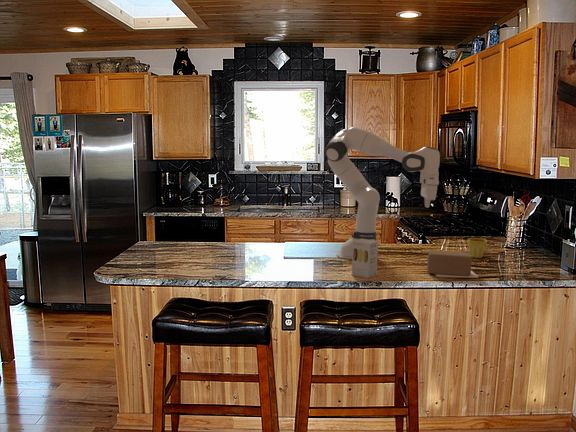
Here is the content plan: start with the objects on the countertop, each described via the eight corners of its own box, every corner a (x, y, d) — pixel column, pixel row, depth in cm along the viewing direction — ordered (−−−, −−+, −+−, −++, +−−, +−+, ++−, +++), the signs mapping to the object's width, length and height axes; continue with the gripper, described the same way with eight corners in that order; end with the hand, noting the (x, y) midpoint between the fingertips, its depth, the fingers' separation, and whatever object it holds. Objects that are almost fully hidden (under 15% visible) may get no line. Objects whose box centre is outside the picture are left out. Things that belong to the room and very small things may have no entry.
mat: (436, 276, 275) (436, 275, 275) (429, 268, 291) (429, 267, 291) (478, 277, 275) (478, 276, 275) (469, 269, 290) (469, 268, 290)
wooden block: (427, 274, 277) (470, 276, 274) (429, 253, 276) (472, 256, 272) (427, 269, 287) (468, 272, 283) (428, 249, 286) (469, 252, 282)
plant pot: (479, 259, 315) (480, 242, 314) (463, 256, 323) (464, 239, 322) (489, 257, 322) (491, 240, 321) (473, 253, 330) (474, 237, 328)
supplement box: (350, 275, 275) (352, 240, 272) (359, 271, 282) (361, 237, 280) (368, 278, 269) (370, 243, 267) (377, 274, 277) (379, 240, 274)
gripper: (418, 177, 294) (416, 204, 296) (426, 181, 274) (424, 209, 276) (431, 178, 294) (429, 204, 296) (439, 181, 273) (437, 210, 275)
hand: (426, 207), depth 286 cm, fingers closed
